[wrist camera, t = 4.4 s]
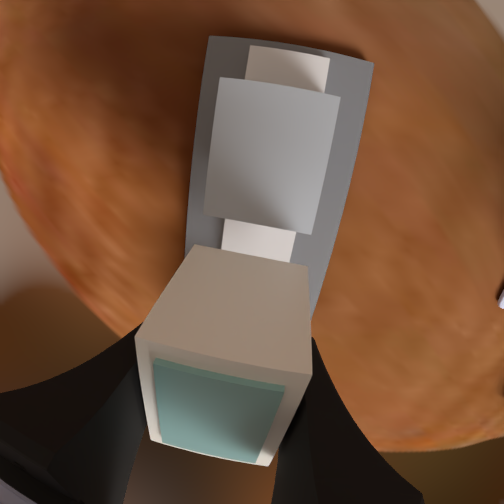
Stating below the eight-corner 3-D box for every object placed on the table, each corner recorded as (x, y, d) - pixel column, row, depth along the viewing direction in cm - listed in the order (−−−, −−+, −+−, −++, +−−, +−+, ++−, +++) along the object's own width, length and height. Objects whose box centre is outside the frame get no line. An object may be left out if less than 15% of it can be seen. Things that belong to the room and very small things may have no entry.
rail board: (369, 65, 13) (407, 47, 8) (292, 364, 22) (289, 429, 17) (214, 39, 13) (175, 10, 8) (185, 343, 22) (160, 402, 17)
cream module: (307, 266, 11) (312, 381, 6) (278, 365, 13) (267, 471, 8) (194, 244, 11) (131, 342, 6) (188, 346, 13) (149, 444, 9)
